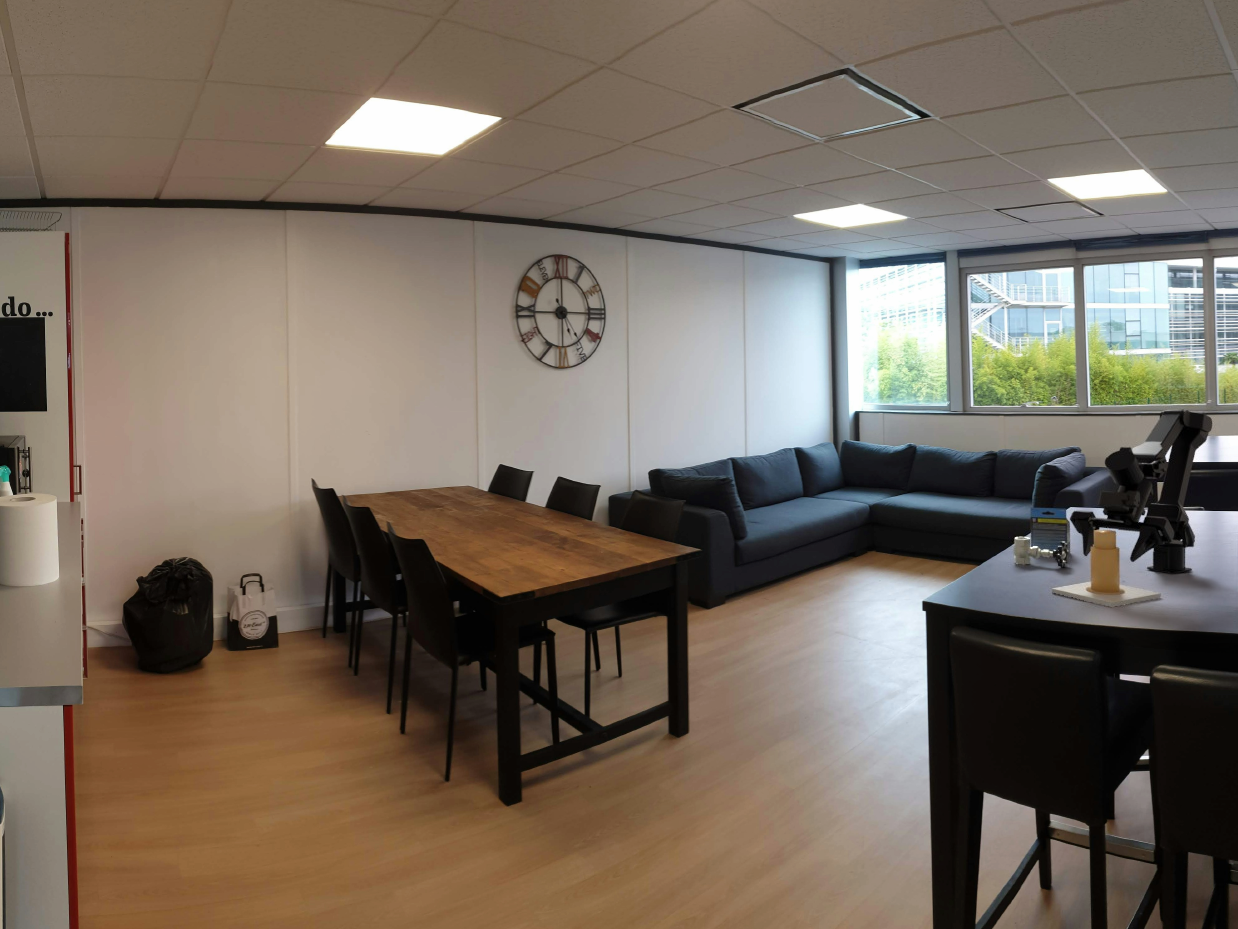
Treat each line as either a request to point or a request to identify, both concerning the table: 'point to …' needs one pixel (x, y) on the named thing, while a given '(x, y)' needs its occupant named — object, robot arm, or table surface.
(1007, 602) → the table surface
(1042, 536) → the label tape cartridge
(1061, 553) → the valve
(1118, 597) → the plate
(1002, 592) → the table surface
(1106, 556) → the stepped tan cylinder
